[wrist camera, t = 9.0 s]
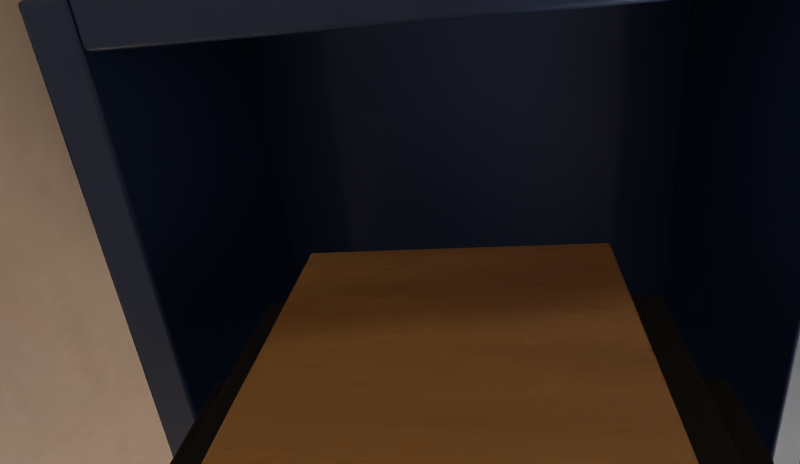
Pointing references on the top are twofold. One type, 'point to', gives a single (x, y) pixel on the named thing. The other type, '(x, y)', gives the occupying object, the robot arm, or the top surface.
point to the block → (456, 365)
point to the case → (436, 160)
